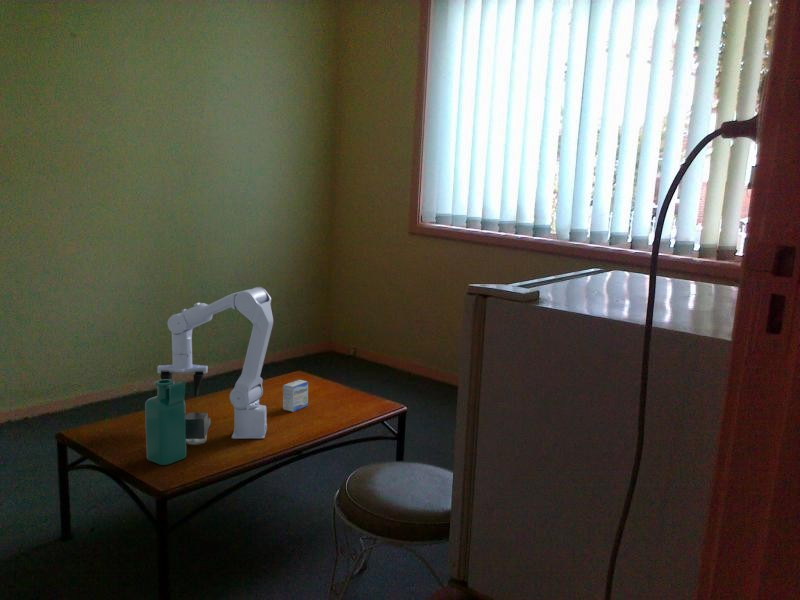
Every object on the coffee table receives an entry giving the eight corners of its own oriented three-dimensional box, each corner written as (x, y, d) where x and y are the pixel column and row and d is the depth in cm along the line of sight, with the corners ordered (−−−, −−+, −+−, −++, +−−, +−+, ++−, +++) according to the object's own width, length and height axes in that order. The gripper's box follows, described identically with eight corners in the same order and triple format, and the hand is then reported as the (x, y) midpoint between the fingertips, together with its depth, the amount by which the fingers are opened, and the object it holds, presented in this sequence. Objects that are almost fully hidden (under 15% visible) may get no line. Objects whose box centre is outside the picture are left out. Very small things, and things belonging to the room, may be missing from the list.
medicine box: (293, 412, 232) (293, 387, 231) (282, 409, 235) (282, 384, 233) (308, 406, 239) (308, 381, 237) (298, 403, 241) (298, 379, 240)
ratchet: (194, 424, 219) (194, 409, 218) (214, 424, 220) (214, 409, 219) (183, 445, 203) (182, 429, 202) (204, 444, 203) (204, 429, 202)
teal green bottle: (143, 459, 192) (140, 380, 188) (169, 449, 199) (167, 374, 195) (167, 468, 186) (164, 388, 183) (192, 458, 193) (191, 380, 189)
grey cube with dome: (188, 431, 208) (187, 412, 207) (207, 431, 209) (207, 412, 208) (184, 438, 203) (183, 419, 202) (204, 438, 203) (204, 419, 202)
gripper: (154, 355, 209) (155, 399, 212) (204, 355, 211) (205, 399, 213) (160, 349, 216) (161, 392, 219) (208, 349, 218) (209, 392, 220)
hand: (183, 395), depth 216 cm, fingers open, 7 cm apart
